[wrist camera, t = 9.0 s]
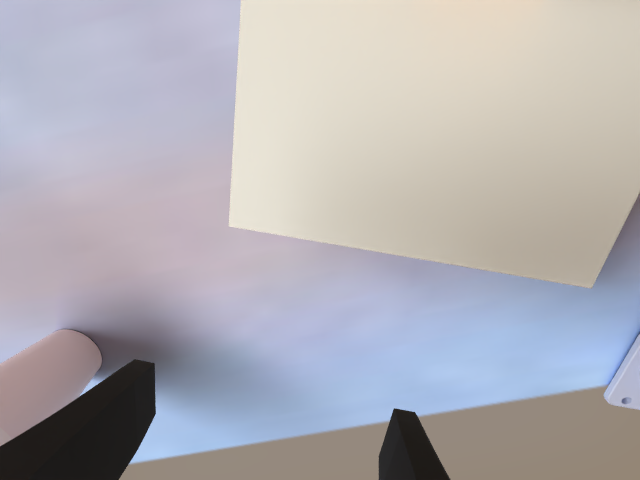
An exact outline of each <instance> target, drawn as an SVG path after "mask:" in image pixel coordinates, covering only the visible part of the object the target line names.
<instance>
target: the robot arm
mask: <svg viewBox="0 0 640 480" xmlns="http://www.w3.org/2000/svg"><path fill="white" fill-rule="evenodd" d="M604 398H605V399H606V400H607V402H608V403H610V404H612V405H616V406H621V407H627V408H632V409H638V410H640V334H639V335H638V337H637V339H636V340H635V342H634V344H633V346H632V347H631V349H630V351H629V352H628V354H627V356H626V357H625V359H624V361H623V362H622V364H621V366H620V367H619V369H618V371H617V373H616V374H615V376H614V378H613V379H612V381H611V383H610V384H609V386H608V388H607V389H606V391H605V393H604ZM155 414H156V407H155V366H154V363H151V362H146V361H140V360H135V359H134V360H133V361H131V362H130V363H128V364H127V365H125V366H124V367H122V368H121V369H119V370H118V371H116V372H115V373H114V374H112V375H111V376H109V377H108V378H106V379H105V380H103V381H102V382H100V383H99V384H98V385H96V386H95V387H93V388H92V389H90V390H89V391H87V392H86V393H84V394H83V395H81V396H80V397H78V398H77V399H75V400H74V401H72V402H71V403H69V404H68V405H66V406H65V407H63V408H62V409H60V410H59V411H57V412H55V413H54V414H52V415H51V416H49V417H48V418H46V419H44V420H43V421H41V422H39V423H38V424H36V425H35V426H33V427H31V428H30V429H28V430H26V431H25V432H23V433H22V434H20V435H18V436H17V437H15V438H13V439H12V440H10V441H8V442H7V443H5V444H3V445H1V446H0V480H119V478H120V477H121V475H122V473H123V472H124V470H125V469H126V467H127V466H128V464H129V463H130V461H131V459H132V458H133V456H134V455H135V453H136V451H137V450H138V448H139V446H140V444H141V442H142V440H143V438H144V436H145V434H146V433H147V430H148V428H149V426H150V424H151V422H152V420H153V418H154V416H155ZM379 480H450V478H449V476H448V475H447V473H446V471H445V469H444V467H443V466H442V464H441V462H440V460H439V458H438V456H437V454H436V452H435V450H434V449H433V446H432V445H431V443H430V441H429V439H428V437H427V435H426V433H425V431H424V429H423V427H422V425H421V423H420V420H419V418H418V416H417V415H416V413H415V412H411V411H405V410H400V409H395V408H394V410H393V413H392V416H391V420H390V423H389V426H388V429H387V432H386V436H385V439H384V442H383V445H382V448H381V451H380V454H379Z"/></svg>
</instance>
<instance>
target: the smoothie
mask: <svg viewBox="0 0 640 480" xmlns="http://www.w3.org/2000/svg"><path fill="white" fill-rule="evenodd" d="M101 364H102V356H101V353H100V350H99V349H98V347H97V346H96V344H95V343H94V342H93V341H92V340H91V339H90V338H88V337H87V336H85V335H84V334H82V333H80V332H77V331H74V330H68V329H62V330H57V331H55V332H53V333H52V334H50V335H48V336H46V337H45V338H43V339H41V340H40V341H38V342H36V343H35V344H33V345H31V346H30V347H28V348H26V349H24V350H23V351H21V352H19V353H18V354H16V355H14V356H13V357H11V358H9V359H8V360H6V361H4V362H3V363H1V364H0V446H1V445H3V444H5V443H7V442H8V441H10V440H12V439H13V438H15V437H17V436H18V435H20V434H22V433H23V432H25V431H26V430H28V429H30V428H31V427H33V426H35V425H36V424H38V423H39V422H41V421H43V420H44V419H46V418H48V417H49V416H51V415H52V414H54V413H55V412H57V411H59V410H60V409H62V408H63V407H65V406H66V405H68V404H69V403H71V402H72V401H74V400H75V399H77V398H78V397H79V396H80V394H81V393H82V392H83V390H84V389H85V388H86V386H87V385H88V383H89V382H90V381H91V379H92V378H93V377H94V375H95V374H96V373H97V371H98V370H99V368H100V367H101Z"/></svg>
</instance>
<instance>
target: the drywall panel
mask: <svg viewBox="0 0 640 480" xmlns="http://www.w3.org/2000/svg"><path fill="white" fill-rule="evenodd" d="M639 193H640V0H241V12H240V30H239V48H238V67H237V85H236V103H235V121H234V140H233V158H232V176H231V195H230V213H229V226H230V227H235V228H241V229H247V230H253V231H259V232H265V233H270V234H276V235H282V236H288V237H294V238H300V239H305V240H311V241H317V242H323V243H329V244H335V245H340V246H346V247H352V248H358V249H364V250H370V251H375V252H381V253H387V254H393V255H399V256H405V257H410V258H416V259H422V260H428V261H434V262H440V263H445V264H451V265H457V266H463V267H469V268H475V269H480V270H486V271H492V272H498V273H504V274H510V275H515V276H521V277H527V278H533V279H539V280H545V281H551V282H556V283H562V284H568V285H574V286H580V287H586V288H591V289H592V287H593V285H594V283H595V281H596V279H597V277H598V275H599V273H600V271H601V269H602V267H603V265H604V263H605V261H606V259H607V257H608V255H609V253H610V251H611V249H612V247H613V245H614V243H615V241H616V239H617V237H618V235H619V233H620V231H621V229H622V227H623V225H624V223H625V221H626V219H627V217H628V215H629V213H630V211H631V209H632V207H633V205H634V203H635V201H636V199H637V197H638V195H639Z"/></svg>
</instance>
